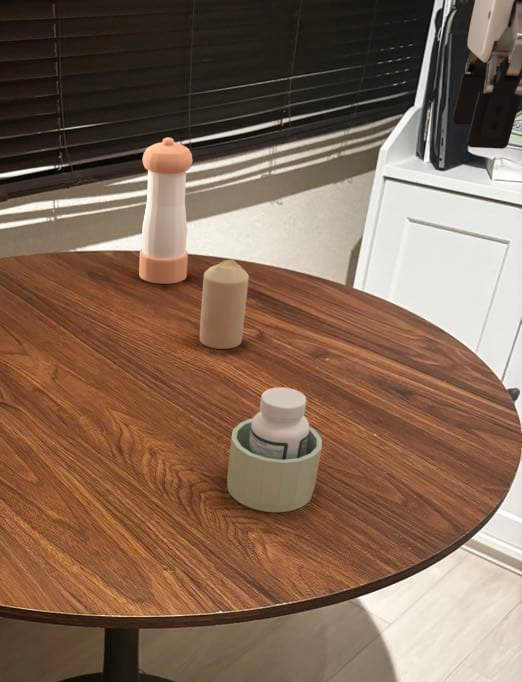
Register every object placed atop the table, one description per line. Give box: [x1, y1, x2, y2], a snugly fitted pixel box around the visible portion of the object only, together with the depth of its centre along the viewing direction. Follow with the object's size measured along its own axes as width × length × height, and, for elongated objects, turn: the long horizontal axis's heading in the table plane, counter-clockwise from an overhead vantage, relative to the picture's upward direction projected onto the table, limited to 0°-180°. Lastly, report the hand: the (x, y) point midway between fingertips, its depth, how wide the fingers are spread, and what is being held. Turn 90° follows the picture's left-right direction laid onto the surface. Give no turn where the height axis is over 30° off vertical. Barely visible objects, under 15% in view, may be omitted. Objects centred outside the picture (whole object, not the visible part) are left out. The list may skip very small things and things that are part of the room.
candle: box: [199, 259, 250, 350], centre depth 102 cm, size 6×6×10 cm
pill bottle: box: [248, 387, 310, 460], centre depth 75 cm, size 5×5×9 cm
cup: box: [226, 417, 323, 513], centre depth 76 cm, size 8×8×6 cm
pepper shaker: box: [138, 136, 194, 285], centre depth 118 cm, size 7×7×19 cm
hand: (477, 134), depth 71 cm, fingers open, 9 cm apart
